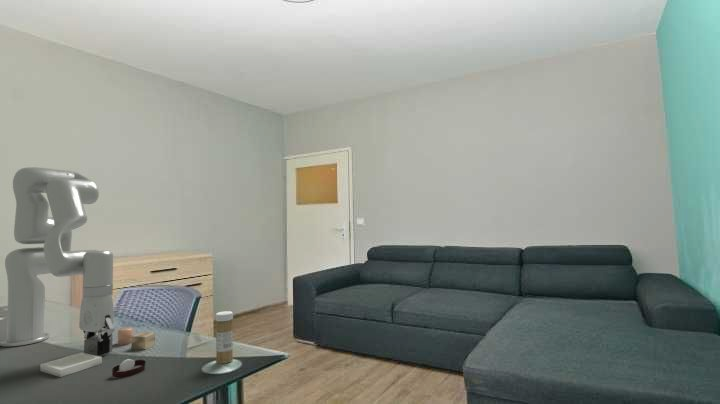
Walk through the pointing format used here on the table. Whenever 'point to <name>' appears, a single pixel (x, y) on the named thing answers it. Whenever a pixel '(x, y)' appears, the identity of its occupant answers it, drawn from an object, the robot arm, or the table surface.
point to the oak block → (143, 340)
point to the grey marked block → (94, 345)
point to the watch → (128, 368)
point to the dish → (70, 364)
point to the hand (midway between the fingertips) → (97, 351)
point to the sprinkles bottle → (224, 337)
